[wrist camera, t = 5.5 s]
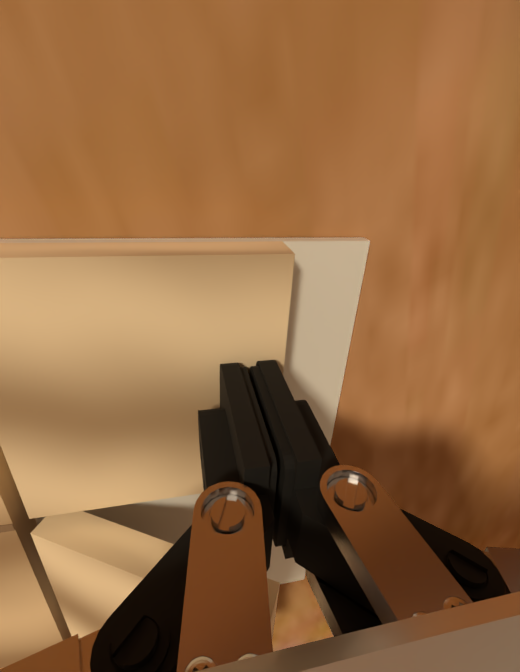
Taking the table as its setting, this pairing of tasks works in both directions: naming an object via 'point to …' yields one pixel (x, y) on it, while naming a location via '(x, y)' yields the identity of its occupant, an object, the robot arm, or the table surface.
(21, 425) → the plank near
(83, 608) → the plank far
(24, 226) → the table surface
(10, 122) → the table surface
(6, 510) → the row
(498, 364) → the table surface
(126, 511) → the underlay mat
